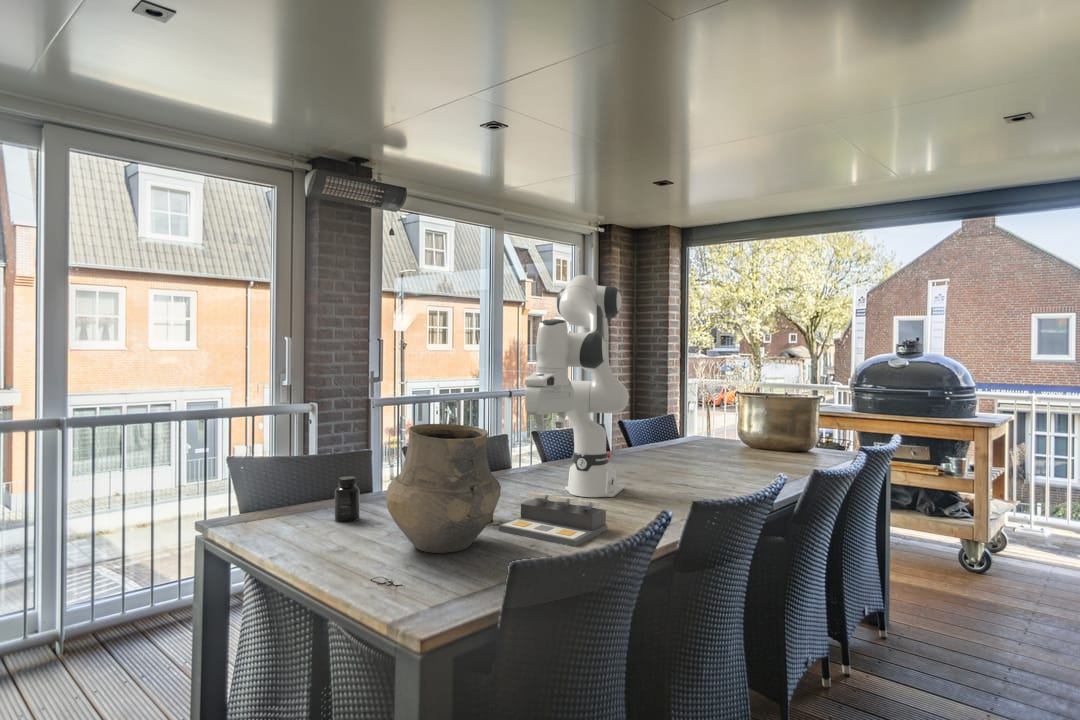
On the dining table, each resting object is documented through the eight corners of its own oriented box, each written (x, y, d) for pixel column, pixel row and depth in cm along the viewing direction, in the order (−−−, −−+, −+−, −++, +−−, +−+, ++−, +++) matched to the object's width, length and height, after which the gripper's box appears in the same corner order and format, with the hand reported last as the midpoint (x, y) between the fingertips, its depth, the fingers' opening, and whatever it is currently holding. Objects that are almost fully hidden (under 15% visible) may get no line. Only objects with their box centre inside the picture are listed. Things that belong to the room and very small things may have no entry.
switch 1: (545, 501, 188) (546, 493, 188) (556, 503, 186) (557, 495, 186) (525, 501, 179) (526, 492, 179) (536, 502, 177) (537, 494, 177)
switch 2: (566, 505, 184) (567, 496, 184) (577, 506, 182) (578, 498, 182) (546, 504, 175) (548, 495, 175) (558, 506, 173) (559, 497, 173)
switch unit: (534, 516, 189) (534, 498, 188) (607, 530, 176) (607, 510, 176) (498, 530, 173) (498, 510, 173) (575, 546, 161) (576, 525, 160)
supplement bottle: (364, 518, 184) (364, 476, 184) (348, 523, 178) (348, 481, 177) (346, 515, 187) (346, 474, 186) (329, 520, 180) (329, 478, 180)
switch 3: (587, 508, 180) (588, 500, 181) (598, 510, 178) (599, 501, 179) (569, 508, 171) (570, 499, 172) (580, 510, 169) (581, 501, 170)
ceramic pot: (447, 524, 179) (449, 418, 178) (524, 545, 161) (526, 427, 160) (362, 547, 157) (363, 426, 156) (439, 575, 139) (441, 438, 138)
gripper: (561, 377, 183) (560, 425, 183) (521, 379, 166) (520, 432, 166) (580, 378, 180) (579, 427, 180) (541, 380, 162) (540, 434, 162)
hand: (550, 429), depth 173 cm, fingers open, 8 cm apart
